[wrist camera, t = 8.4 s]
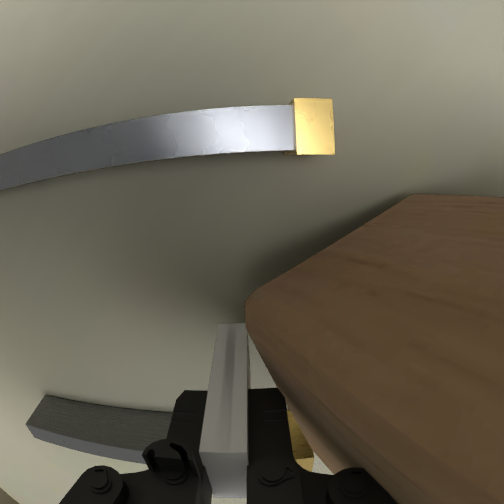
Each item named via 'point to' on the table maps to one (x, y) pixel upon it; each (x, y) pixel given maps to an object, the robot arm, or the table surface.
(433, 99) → the table surface
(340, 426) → the wooden block
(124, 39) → the table surface
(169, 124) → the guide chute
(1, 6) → the table surface
